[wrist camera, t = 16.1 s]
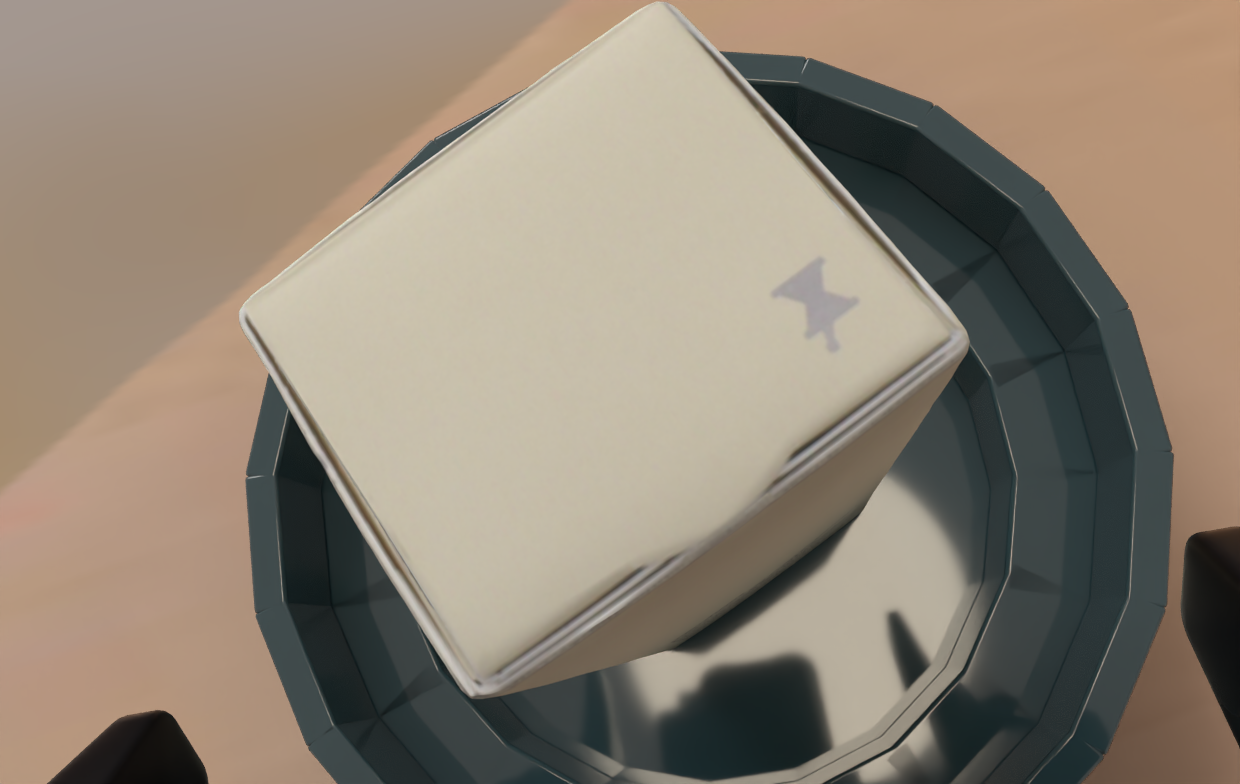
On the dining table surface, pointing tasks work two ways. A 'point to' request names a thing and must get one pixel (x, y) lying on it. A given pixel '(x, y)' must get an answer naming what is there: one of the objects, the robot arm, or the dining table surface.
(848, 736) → the bowl
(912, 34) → the dining table surface
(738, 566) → the box
